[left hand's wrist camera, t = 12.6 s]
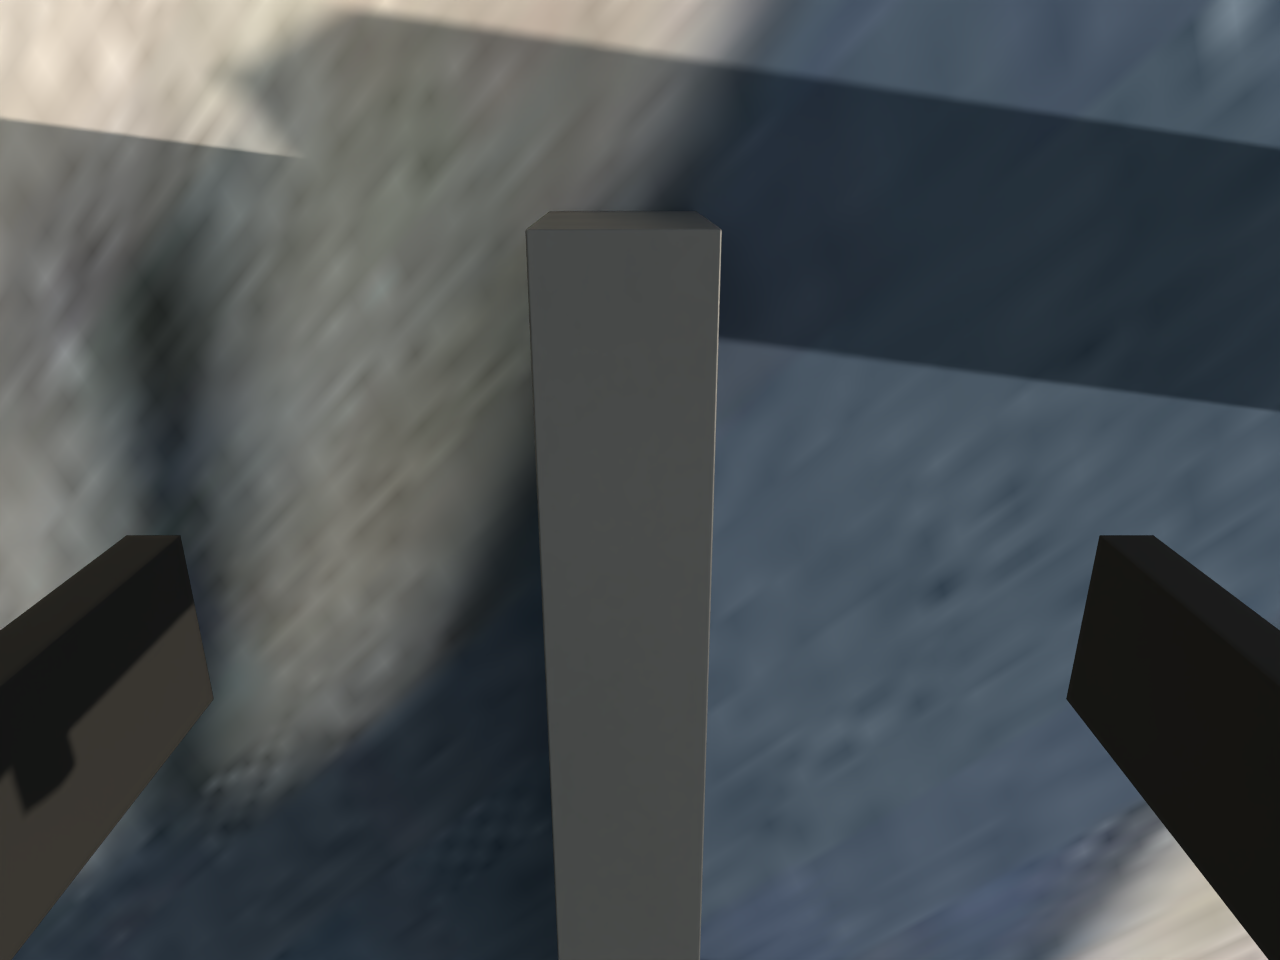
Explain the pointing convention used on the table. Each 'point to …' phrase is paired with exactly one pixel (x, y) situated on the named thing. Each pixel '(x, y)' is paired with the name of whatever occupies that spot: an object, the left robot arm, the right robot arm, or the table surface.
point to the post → (626, 566)
